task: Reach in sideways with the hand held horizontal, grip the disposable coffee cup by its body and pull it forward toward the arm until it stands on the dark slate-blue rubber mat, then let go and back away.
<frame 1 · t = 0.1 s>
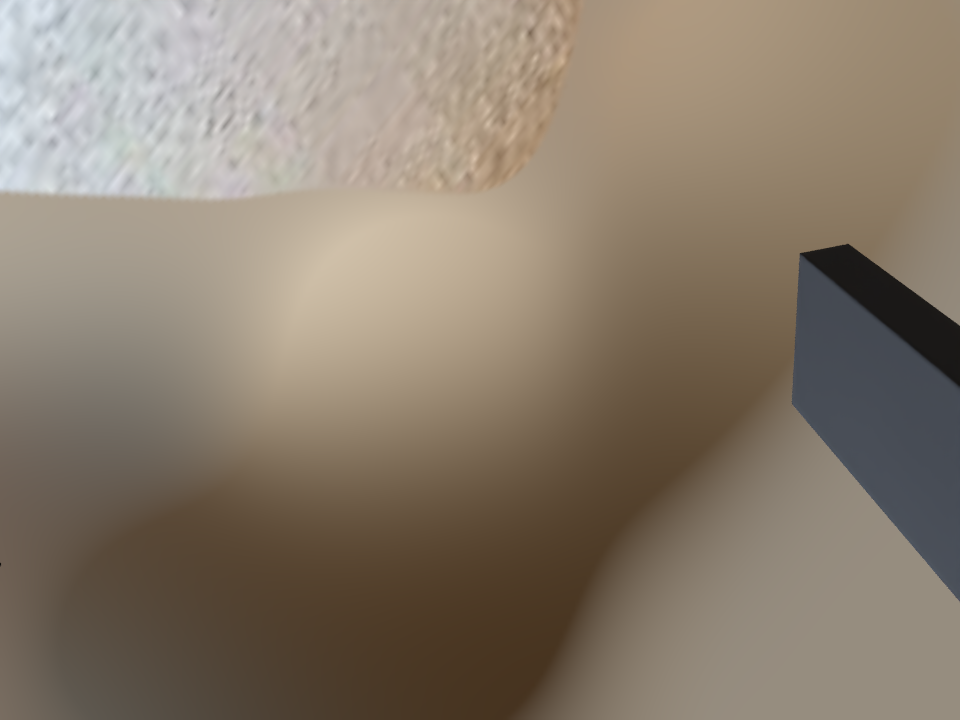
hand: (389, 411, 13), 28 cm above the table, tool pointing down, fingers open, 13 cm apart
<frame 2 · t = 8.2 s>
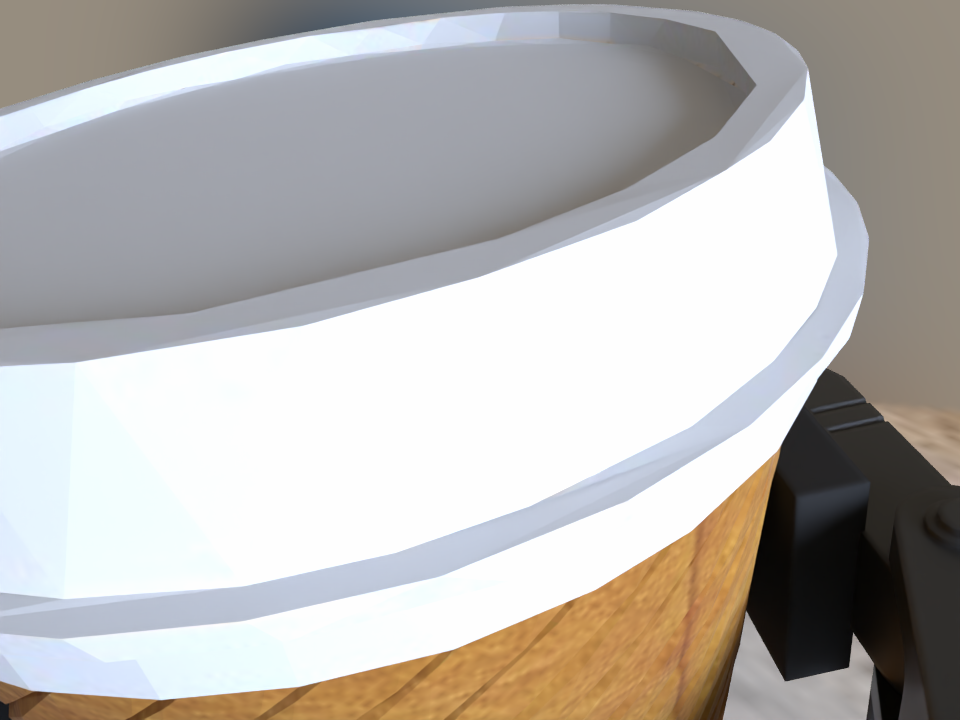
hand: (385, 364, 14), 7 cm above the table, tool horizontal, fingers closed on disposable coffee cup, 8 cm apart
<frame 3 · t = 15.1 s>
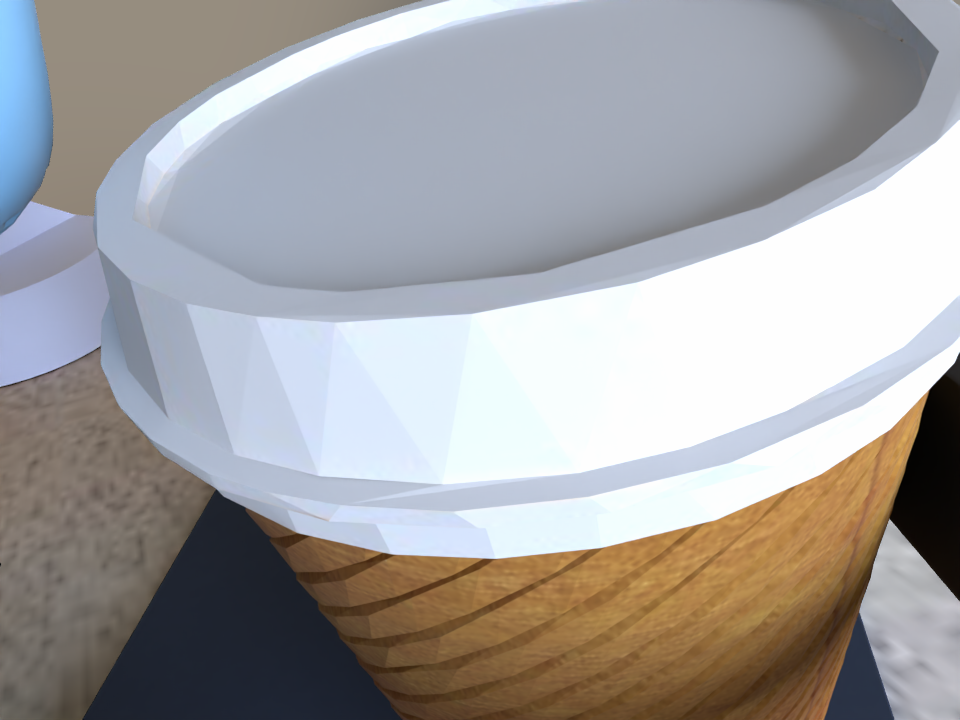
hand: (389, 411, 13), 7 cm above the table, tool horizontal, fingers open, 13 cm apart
mat: (462, 707, 17), on the table
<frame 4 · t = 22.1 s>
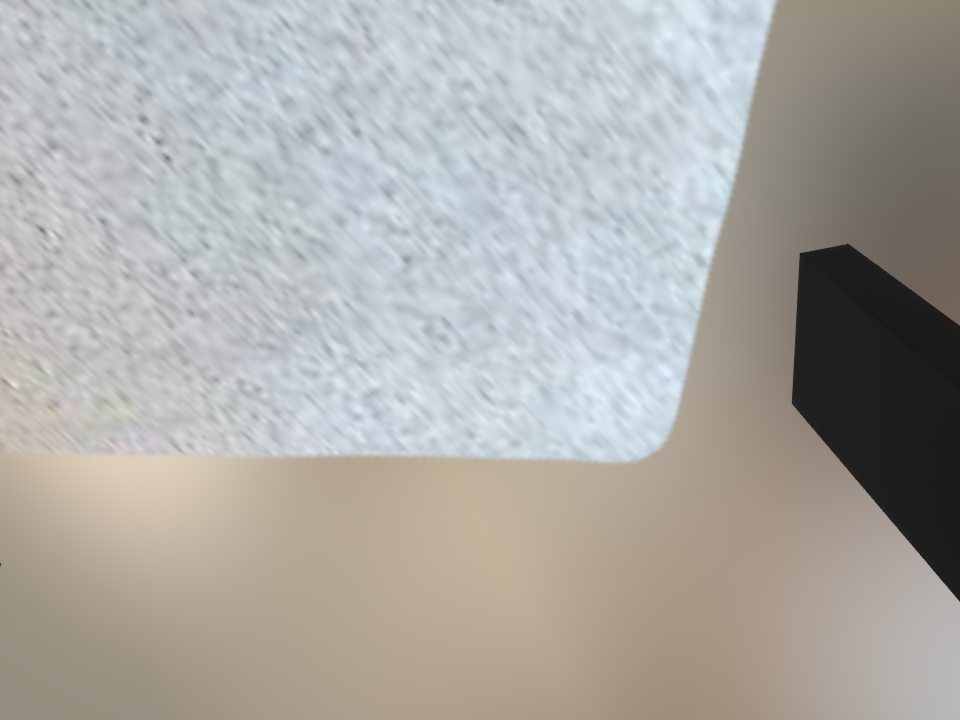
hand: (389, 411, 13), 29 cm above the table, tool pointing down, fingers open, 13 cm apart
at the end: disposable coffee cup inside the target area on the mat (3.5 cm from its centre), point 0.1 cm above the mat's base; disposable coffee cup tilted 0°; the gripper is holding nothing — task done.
